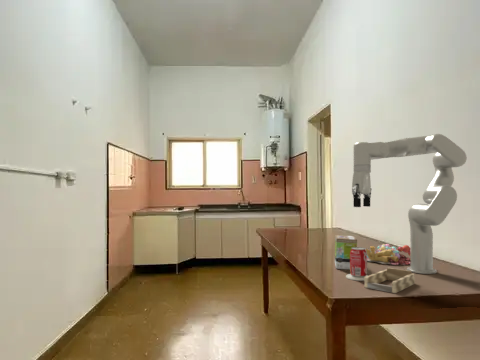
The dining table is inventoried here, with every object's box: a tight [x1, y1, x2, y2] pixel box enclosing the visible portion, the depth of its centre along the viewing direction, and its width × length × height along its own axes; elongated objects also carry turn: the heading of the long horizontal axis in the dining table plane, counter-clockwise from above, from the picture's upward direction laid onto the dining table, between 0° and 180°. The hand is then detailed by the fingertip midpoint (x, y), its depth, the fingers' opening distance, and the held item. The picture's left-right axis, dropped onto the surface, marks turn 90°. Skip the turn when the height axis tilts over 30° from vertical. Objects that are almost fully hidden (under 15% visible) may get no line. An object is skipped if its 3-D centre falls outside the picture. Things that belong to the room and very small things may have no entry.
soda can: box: [349, 246, 368, 277], centre depth 166 cm, size 7×7×12 cm
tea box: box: [334, 234, 358, 270], centre depth 191 cm, size 15×10×15 cm, turn 168°
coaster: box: [345, 273, 369, 282], centre depth 166 cm, size 10×10×1 cm
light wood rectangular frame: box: [364, 267, 416, 294], centre depth 153 cm, size 20×12×5 cm, turn 137°
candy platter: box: [365, 243, 410, 266], centre depth 206 cm, size 25×24×9 cm
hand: (362, 206), depth 176 cm, fingers open, 9 cm apart
